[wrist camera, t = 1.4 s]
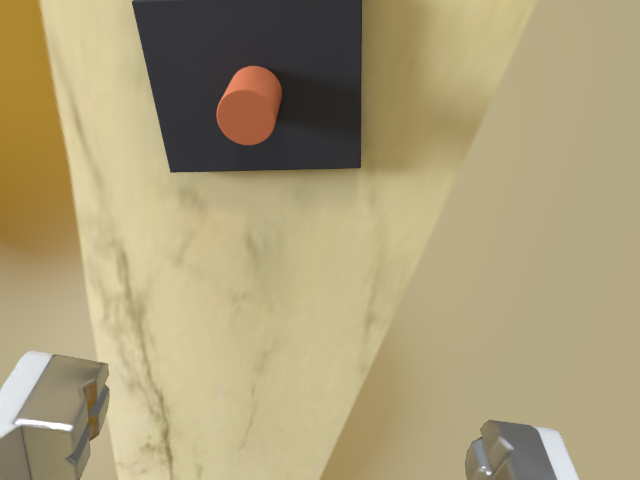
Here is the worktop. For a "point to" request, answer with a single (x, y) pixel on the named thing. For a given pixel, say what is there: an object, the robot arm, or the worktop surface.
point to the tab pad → (255, 39)
